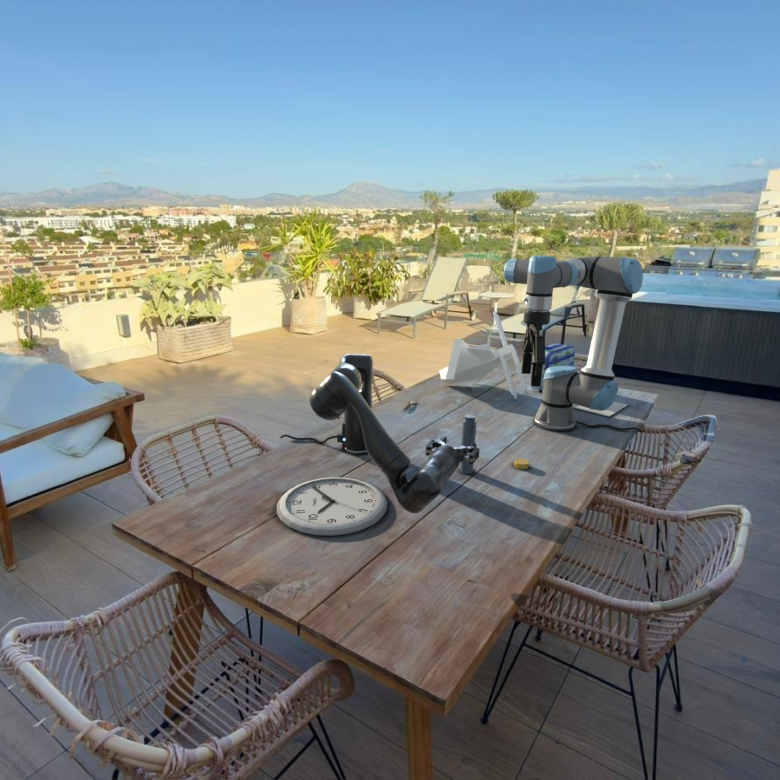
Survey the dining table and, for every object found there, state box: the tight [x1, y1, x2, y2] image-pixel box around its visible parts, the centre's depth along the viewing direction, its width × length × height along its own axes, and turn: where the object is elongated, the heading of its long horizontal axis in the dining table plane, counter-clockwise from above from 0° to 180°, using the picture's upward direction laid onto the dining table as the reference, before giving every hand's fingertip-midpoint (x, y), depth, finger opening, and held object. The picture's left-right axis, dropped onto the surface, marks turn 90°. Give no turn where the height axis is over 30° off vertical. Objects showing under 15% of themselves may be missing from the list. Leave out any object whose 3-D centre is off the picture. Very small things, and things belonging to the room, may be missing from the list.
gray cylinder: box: [459, 414, 477, 475], centre depth 161 cm, size 4×4×18 cm
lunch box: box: [530, 343, 576, 391], centre depth 249 cm, size 26×11×21 cm, turn 134°
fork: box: [403, 395, 419, 411], centre depth 222 cm, size 3×16×2 cm, turn 160°
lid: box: [513, 458, 530, 470], centre depth 168 cm, size 5×5×2 cm
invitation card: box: [573, 401, 629, 418], centre depth 226 cm, size 21×1×15 cm
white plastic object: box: [438, 310, 531, 400], centre depth 245 cm, size 37×45×31 cm
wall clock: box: [276, 476, 388, 537], centre depth 142 cm, size 30×2×30 cm
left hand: (459, 441), depth 151 cm, fingers open, 8 cm apart
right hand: (530, 379), depth 160 cm, fingers open, 13 cm apart
